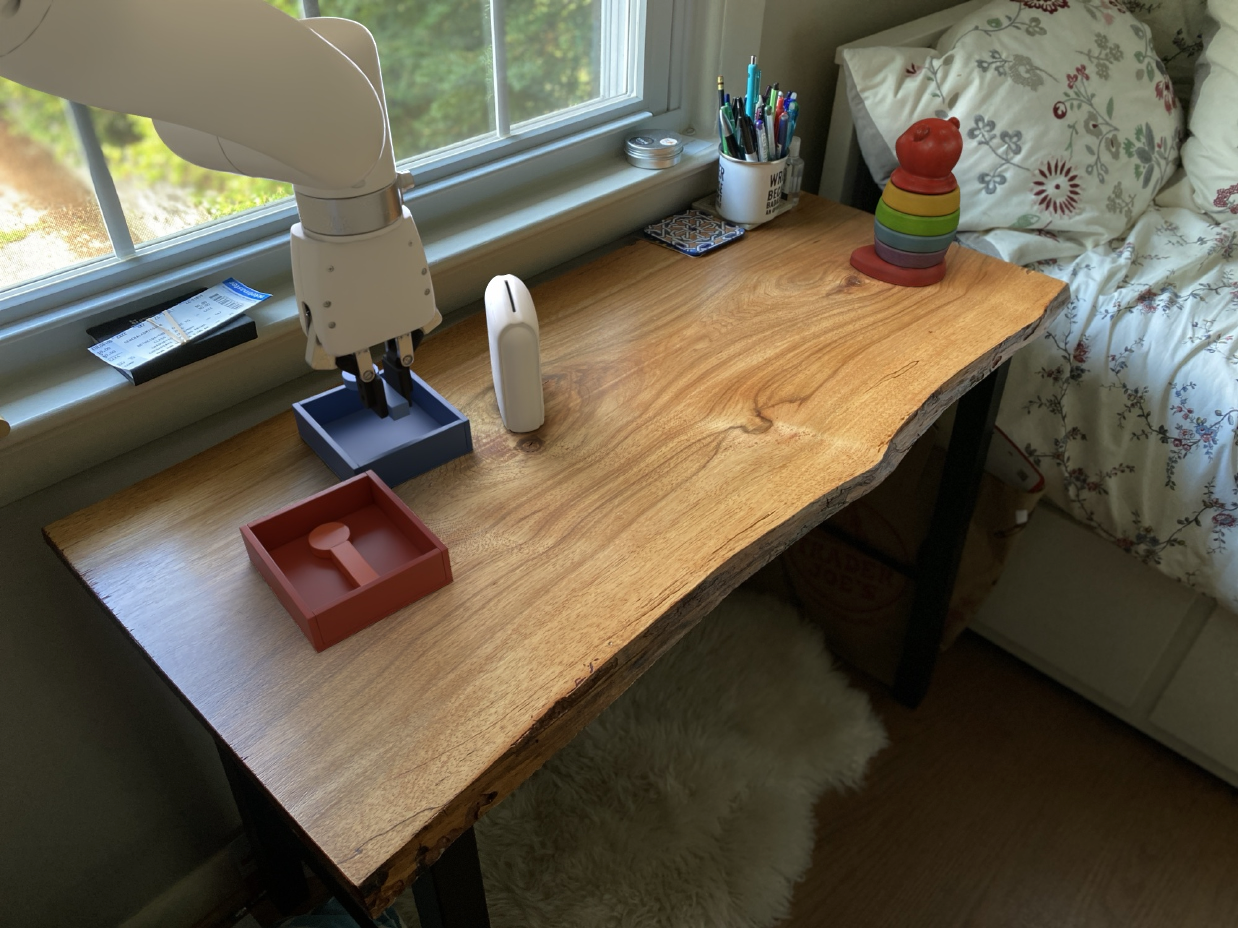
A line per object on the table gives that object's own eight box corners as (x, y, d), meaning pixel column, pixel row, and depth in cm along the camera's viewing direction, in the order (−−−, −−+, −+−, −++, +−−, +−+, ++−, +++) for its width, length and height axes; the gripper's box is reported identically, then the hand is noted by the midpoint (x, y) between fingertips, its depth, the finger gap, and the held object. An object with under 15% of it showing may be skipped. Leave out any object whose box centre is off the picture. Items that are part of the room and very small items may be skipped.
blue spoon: (419, 411, 80) (416, 397, 79) (385, 425, 79) (383, 411, 78) (369, 367, 86) (367, 354, 85) (337, 379, 84) (334, 366, 83)
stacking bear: (912, 243, 118) (942, 98, 106) (968, 277, 110) (1006, 125, 99) (841, 260, 114) (865, 112, 103) (894, 296, 107) (926, 141, 96)
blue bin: (360, 502, 79) (353, 469, 77) (299, 435, 86) (291, 404, 84) (473, 450, 84) (469, 419, 82) (406, 392, 92) (401, 362, 90)
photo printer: (490, 377, 94) (478, 265, 86) (532, 372, 94) (525, 260, 87) (502, 437, 86) (491, 319, 78) (549, 431, 87) (542, 314, 79)
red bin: (317, 653, 66) (307, 620, 64) (249, 560, 73) (238, 527, 71) (453, 581, 71) (448, 548, 69) (378, 501, 79) (371, 468, 77)
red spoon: (395, 587, 70) (392, 574, 69) (356, 607, 69) (353, 594, 68) (341, 525, 76) (337, 512, 75) (304, 542, 74) (300, 530, 73)
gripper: (417, 163, 75) (445, 357, 87) (227, 215, 68) (285, 420, 79) (466, 191, 71) (489, 392, 82) (269, 250, 63) (324, 462, 75)
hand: (388, 404), depth 81 cm, fingers closed on blue spoon, 1 cm apart
